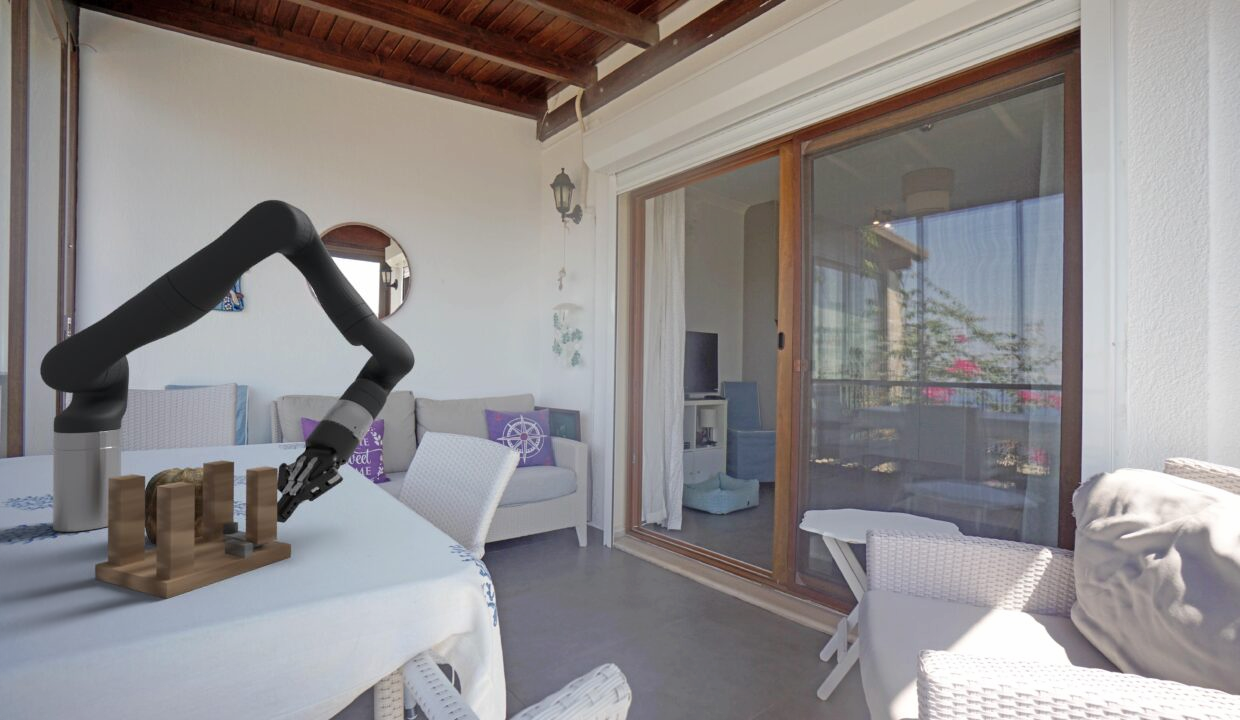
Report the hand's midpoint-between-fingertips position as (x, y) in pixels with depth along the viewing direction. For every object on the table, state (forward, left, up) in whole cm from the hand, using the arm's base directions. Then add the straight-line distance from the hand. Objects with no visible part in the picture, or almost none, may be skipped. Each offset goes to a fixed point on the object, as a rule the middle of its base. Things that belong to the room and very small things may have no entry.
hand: (276, 519), depth 95 cm
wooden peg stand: (-6, -8, -6) cm, 12 cm away
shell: (-23, 0, -6) cm, 24 cm away
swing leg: (-4, -2, -4) cm, 6 cm away
